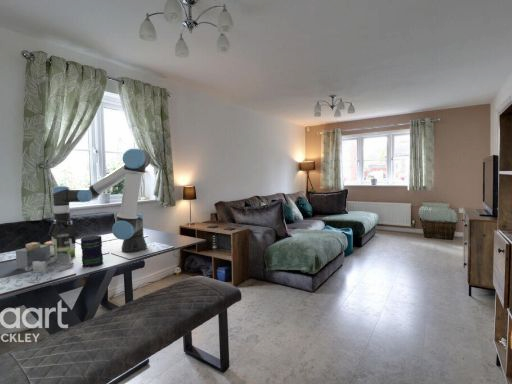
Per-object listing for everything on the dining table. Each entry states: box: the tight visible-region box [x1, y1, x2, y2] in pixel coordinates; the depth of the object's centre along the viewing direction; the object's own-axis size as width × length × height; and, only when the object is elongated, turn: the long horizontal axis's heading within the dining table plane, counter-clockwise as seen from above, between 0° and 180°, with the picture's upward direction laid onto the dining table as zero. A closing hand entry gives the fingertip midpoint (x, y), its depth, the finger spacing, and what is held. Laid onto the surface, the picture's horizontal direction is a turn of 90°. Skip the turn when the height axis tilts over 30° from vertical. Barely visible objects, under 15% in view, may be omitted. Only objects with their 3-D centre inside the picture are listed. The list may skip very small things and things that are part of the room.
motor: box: [15, 241, 74, 274], centre depth 146 cm, size 14×29×12 cm, turn 74°
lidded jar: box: [43, 240, 54, 256], centre depth 170 cm, size 11×11×9 cm
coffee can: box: [53, 232, 76, 262], centre depth 160 cm, size 10×10×14 cm
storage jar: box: [80, 235, 104, 269], centre depth 148 cm, size 10×10×15 cm
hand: (63, 248), depth 160 cm, fingers open, 13 cm apart
